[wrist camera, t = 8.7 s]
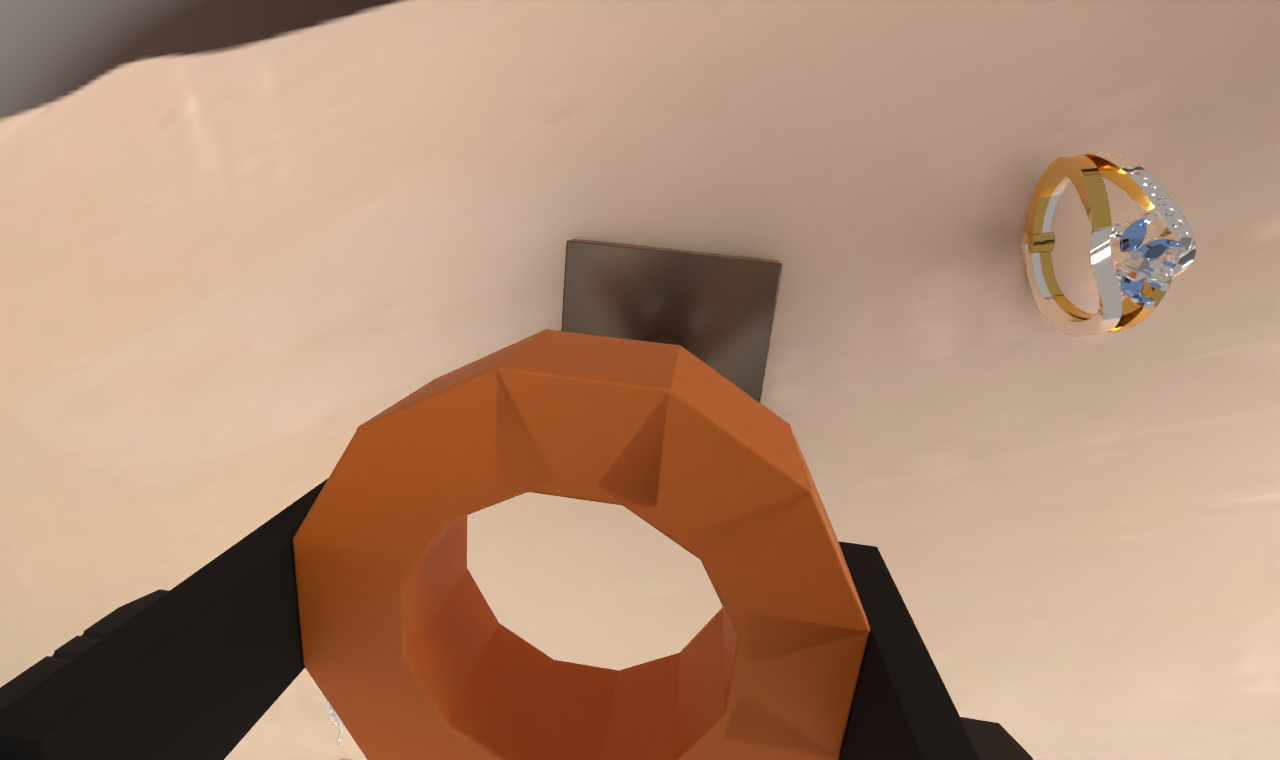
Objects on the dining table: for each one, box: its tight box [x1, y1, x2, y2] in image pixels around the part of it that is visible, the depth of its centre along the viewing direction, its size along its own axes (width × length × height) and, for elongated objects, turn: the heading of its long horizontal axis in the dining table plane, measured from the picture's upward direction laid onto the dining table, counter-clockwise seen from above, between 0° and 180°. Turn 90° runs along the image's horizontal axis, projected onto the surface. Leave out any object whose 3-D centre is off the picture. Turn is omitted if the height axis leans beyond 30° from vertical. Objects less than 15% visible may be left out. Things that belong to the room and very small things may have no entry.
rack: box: [562, 239, 782, 403], centre depth 24 cm, size 10×10×12 cm
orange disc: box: [293, 329, 870, 760], centre depth 11 cm, size 10×10×3 cm
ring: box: [1021, 152, 1196, 337], centre depth 23 cm, size 7×3×8 cm, turn 7°
